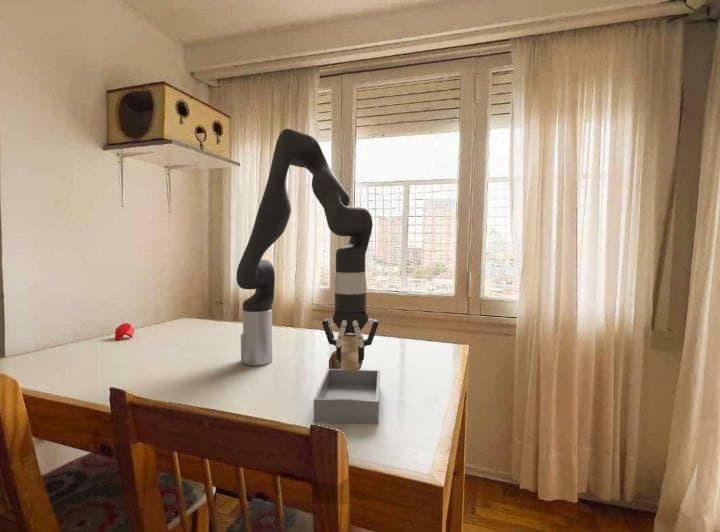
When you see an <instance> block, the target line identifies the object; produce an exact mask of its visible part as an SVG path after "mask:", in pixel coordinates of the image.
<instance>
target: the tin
mask: <svg viewBox="0 0 720 532" xmlns="http://www.w3.org/2000/svg"><path fill="white" fill-rule="evenodd" d="M363 363H364V360H363V361H361V363H359V368H358V370H361V367H362V366H363ZM328 369H341V362H339V360H337V358H336V350H335V351H333V352H332V353H331V355H330V357H329V359H328Z"/></svg>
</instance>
